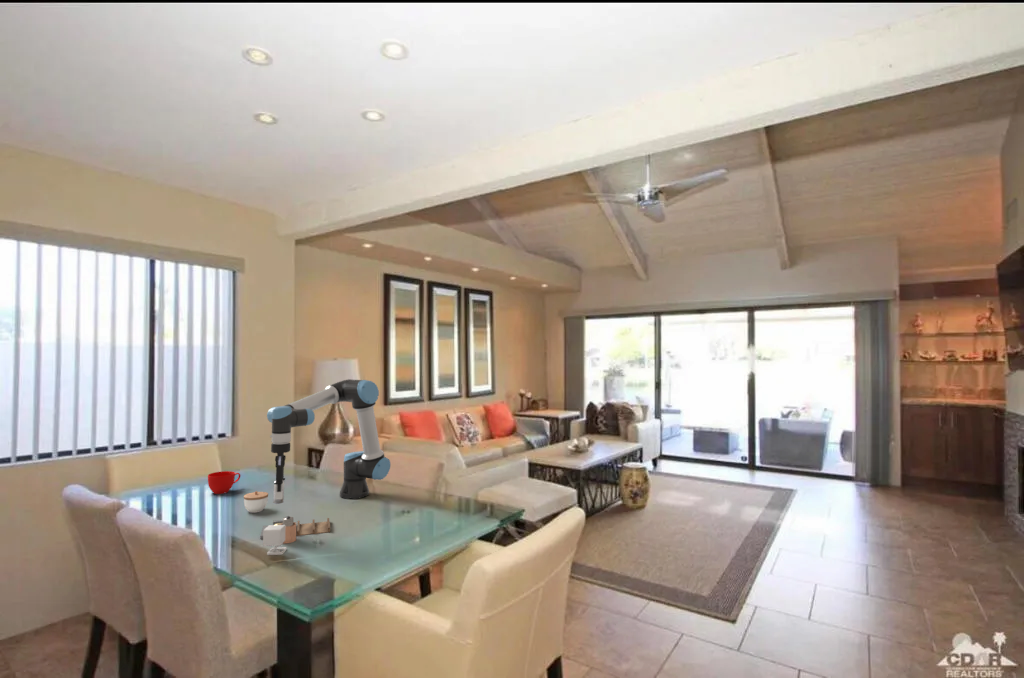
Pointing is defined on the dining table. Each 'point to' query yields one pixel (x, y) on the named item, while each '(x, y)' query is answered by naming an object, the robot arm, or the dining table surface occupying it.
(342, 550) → the dining table surface
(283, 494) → the cell
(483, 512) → the dining table surface
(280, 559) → the dining table surface
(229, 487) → the ceramic cup
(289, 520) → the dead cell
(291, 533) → the octagonal tan cylinder
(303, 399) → the robot arm
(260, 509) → the lidded jar
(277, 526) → the security camera
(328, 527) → the trough board
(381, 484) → the dining table surface
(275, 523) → the cradle
